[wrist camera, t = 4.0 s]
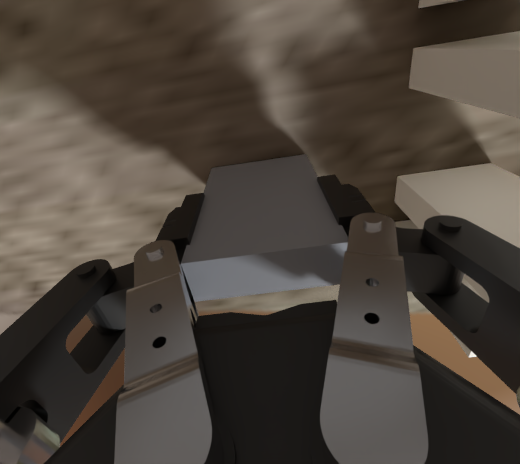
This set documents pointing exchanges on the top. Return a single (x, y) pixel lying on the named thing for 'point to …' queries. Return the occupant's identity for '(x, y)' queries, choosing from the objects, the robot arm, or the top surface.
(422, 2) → the ivory domino
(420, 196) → the ivory domino
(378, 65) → the top surface
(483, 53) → the ivory domino
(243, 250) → the charcoal domino
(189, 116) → the top surface
